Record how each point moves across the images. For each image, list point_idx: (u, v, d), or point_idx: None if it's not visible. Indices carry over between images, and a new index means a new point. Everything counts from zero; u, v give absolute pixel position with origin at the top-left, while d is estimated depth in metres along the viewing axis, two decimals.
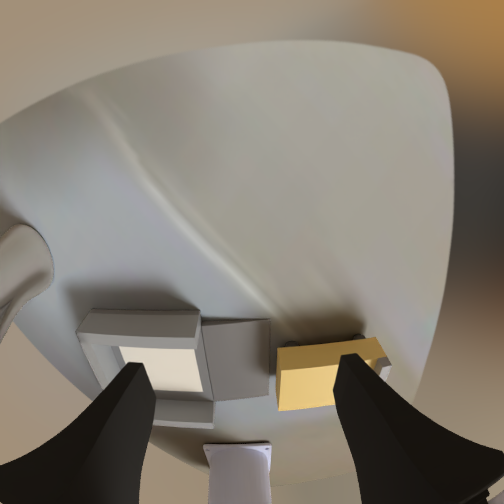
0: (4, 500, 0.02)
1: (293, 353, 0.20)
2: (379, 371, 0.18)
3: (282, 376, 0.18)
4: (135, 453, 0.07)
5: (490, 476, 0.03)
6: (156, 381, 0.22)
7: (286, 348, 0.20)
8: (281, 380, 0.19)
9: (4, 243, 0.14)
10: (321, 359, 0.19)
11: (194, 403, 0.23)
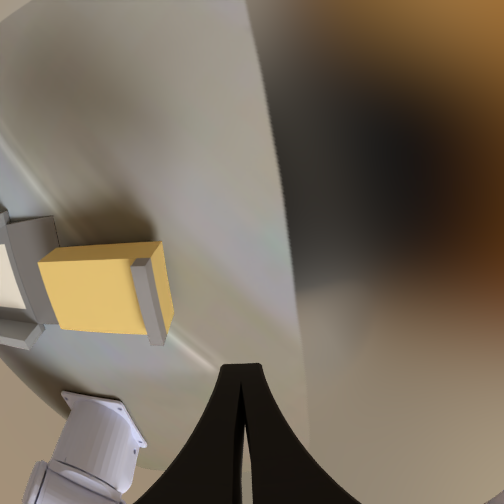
0: None
1: (62, 251, 0.15)
2: (134, 276, 0.14)
3: (41, 271, 0.14)
4: (240, 460, 0.07)
5: None
6: None
7: (61, 247, 0.16)
8: (43, 278, 0.14)
9: None
10: (77, 256, 0.15)
11: (24, 324, 0.19)
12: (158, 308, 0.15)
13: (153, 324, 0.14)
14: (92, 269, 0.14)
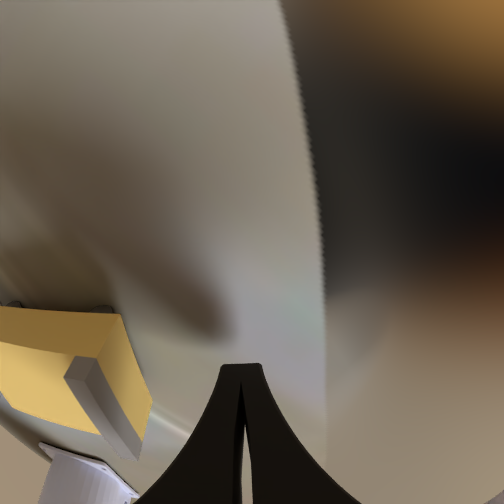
0: None
1: None
2: (74, 386, 0.07)
3: None
4: (240, 460, 0.07)
5: None
6: None
7: None
8: None
9: None
10: (6, 330, 0.08)
11: None
12: (122, 421, 0.08)
13: (118, 442, 0.08)
14: (23, 356, 0.07)
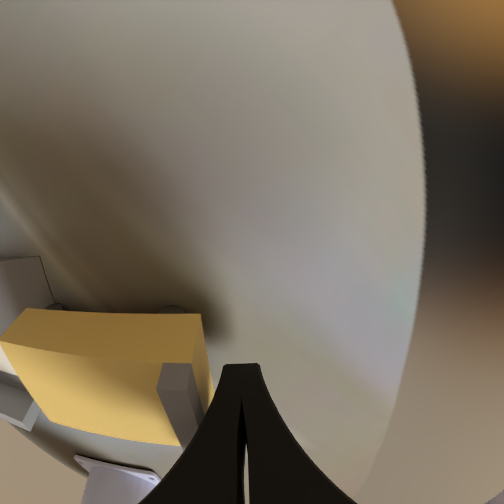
0: None
1: (33, 319, 0.09)
2: (163, 397, 0.07)
3: (6, 353, 0.07)
4: (243, 460, 0.07)
5: None
6: None
7: (33, 310, 0.09)
8: (10, 361, 0.07)
9: None
10: (56, 338, 0.08)
11: (18, 392, 0.12)
12: None
13: None
14: (83, 367, 0.07)
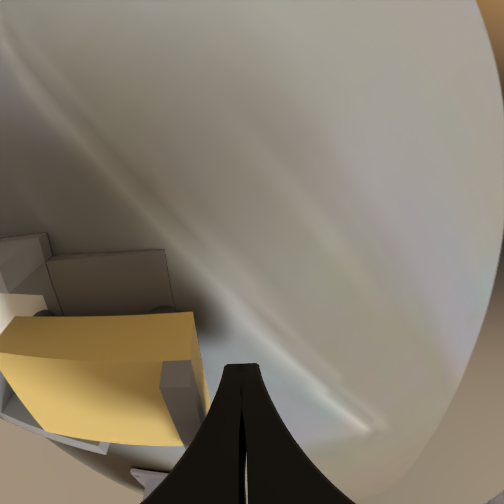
0: None
1: (24, 327, 0.08)
2: (165, 396, 0.07)
3: None
4: (244, 460, 0.07)
5: None
6: None
7: (23, 318, 0.08)
8: (3, 372, 0.07)
9: None
10: (50, 344, 0.07)
11: None
12: None
13: None
14: (80, 372, 0.07)
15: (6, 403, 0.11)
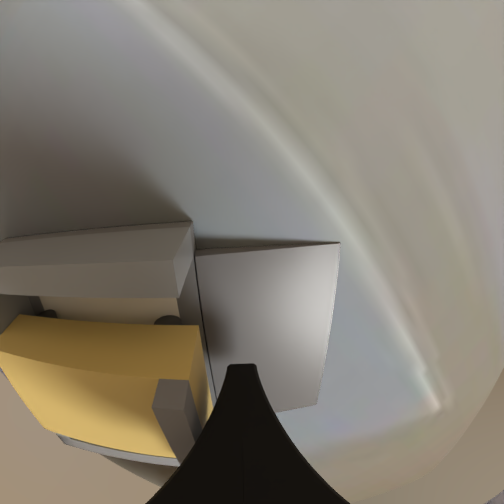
0: None
1: (26, 326, 0.08)
2: (159, 414, 0.06)
3: None
4: None
5: None
6: None
7: (26, 317, 0.09)
8: (3, 369, 0.07)
9: None
10: (48, 348, 0.07)
11: None
12: None
13: None
14: (76, 379, 0.07)
15: None
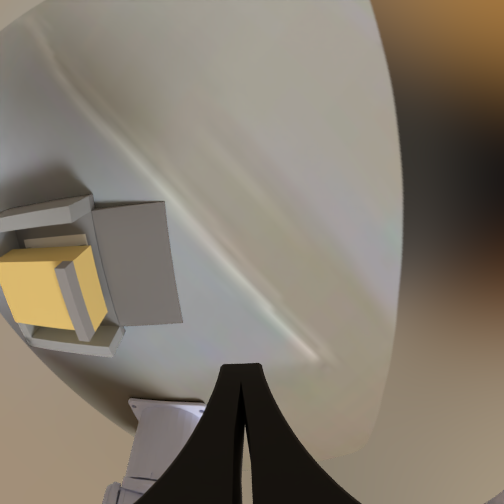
0: None
1: (14, 252, 0.15)
2: (59, 277, 0.13)
3: None
4: (240, 460, 0.07)
5: None
6: None
7: (15, 249, 0.16)
8: None
9: None
10: (23, 257, 0.14)
11: (99, 327, 0.19)
12: (82, 307, 0.15)
13: (78, 321, 0.14)
14: (32, 269, 0.14)
15: (36, 331, 0.18)
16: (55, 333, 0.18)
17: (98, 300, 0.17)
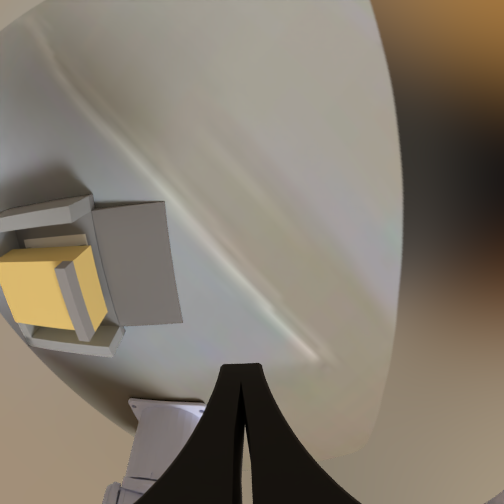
0: None
1: (14, 252, 0.15)
2: (59, 277, 0.13)
3: None
4: (240, 460, 0.07)
5: None
6: None
7: (15, 249, 0.16)
8: None
9: None
10: (23, 257, 0.14)
11: (99, 327, 0.19)
12: (82, 307, 0.15)
13: (78, 321, 0.14)
14: (32, 269, 0.14)
15: (36, 331, 0.18)
16: (55, 333, 0.18)
17: (98, 300, 0.17)
